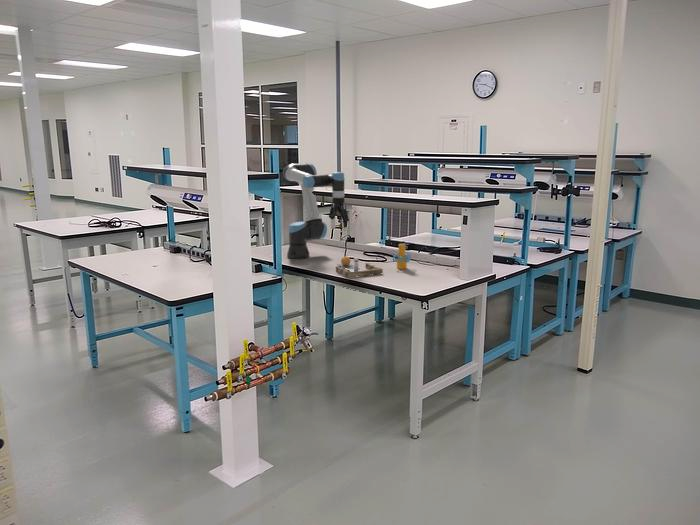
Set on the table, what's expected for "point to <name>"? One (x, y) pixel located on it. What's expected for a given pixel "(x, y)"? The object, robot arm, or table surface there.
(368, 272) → the pin pen
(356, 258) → the pin
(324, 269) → the table surface
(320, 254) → the table surface
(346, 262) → the ball
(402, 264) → the orange toy figure
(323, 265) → the table surface
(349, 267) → the lane tape
